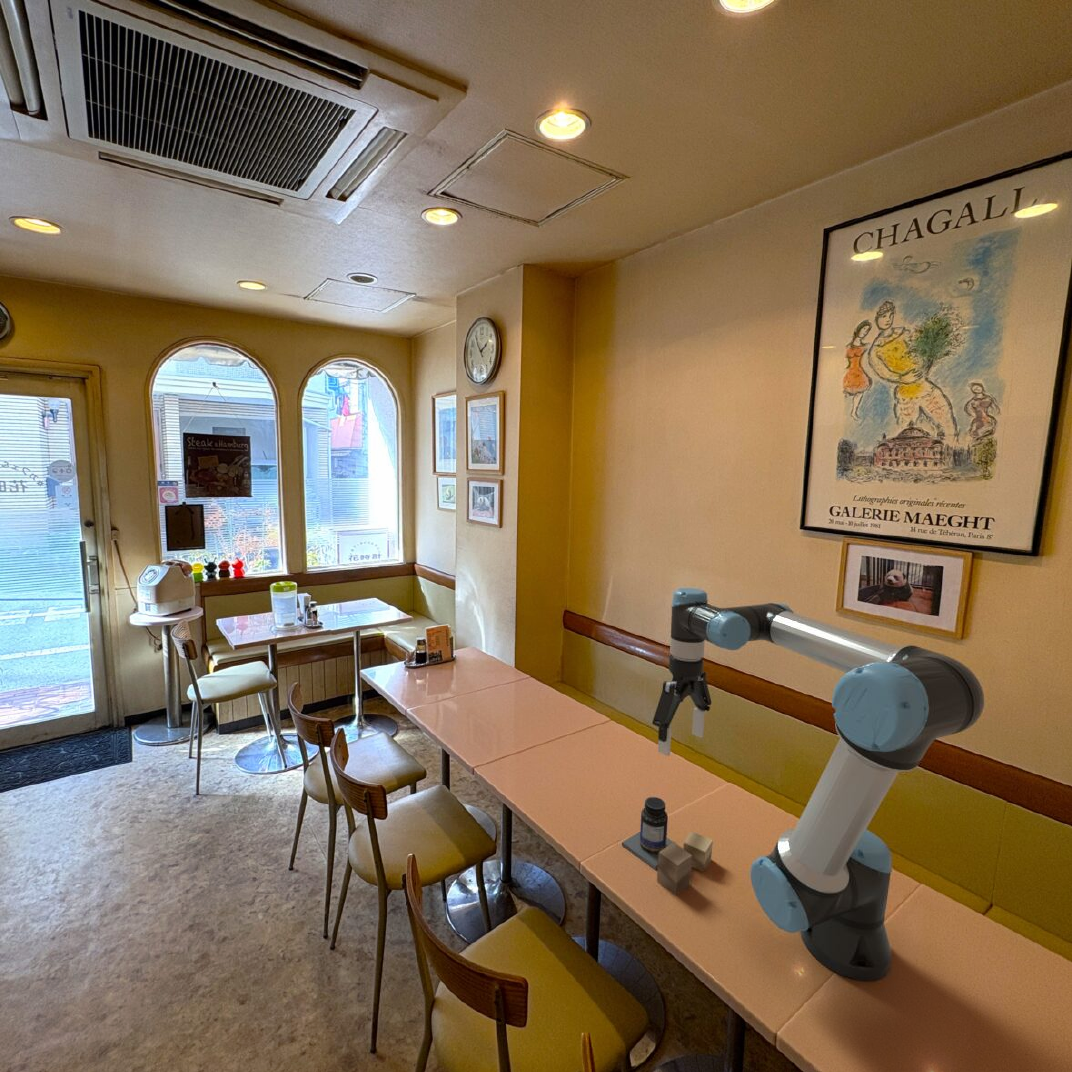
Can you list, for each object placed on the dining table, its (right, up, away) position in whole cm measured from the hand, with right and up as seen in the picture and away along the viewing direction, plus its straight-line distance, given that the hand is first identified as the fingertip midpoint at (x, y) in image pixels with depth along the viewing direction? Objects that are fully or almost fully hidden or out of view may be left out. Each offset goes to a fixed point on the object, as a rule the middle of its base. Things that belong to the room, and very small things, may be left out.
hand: (681, 744), depth 132 cm
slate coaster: (-6, -25, +2) cm, 26 cm away
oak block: (+3, -26, -2) cm, 26 cm away
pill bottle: (-6, -25, +2) cm, 26 cm away
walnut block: (-4, -27, -9) cm, 29 cm away
